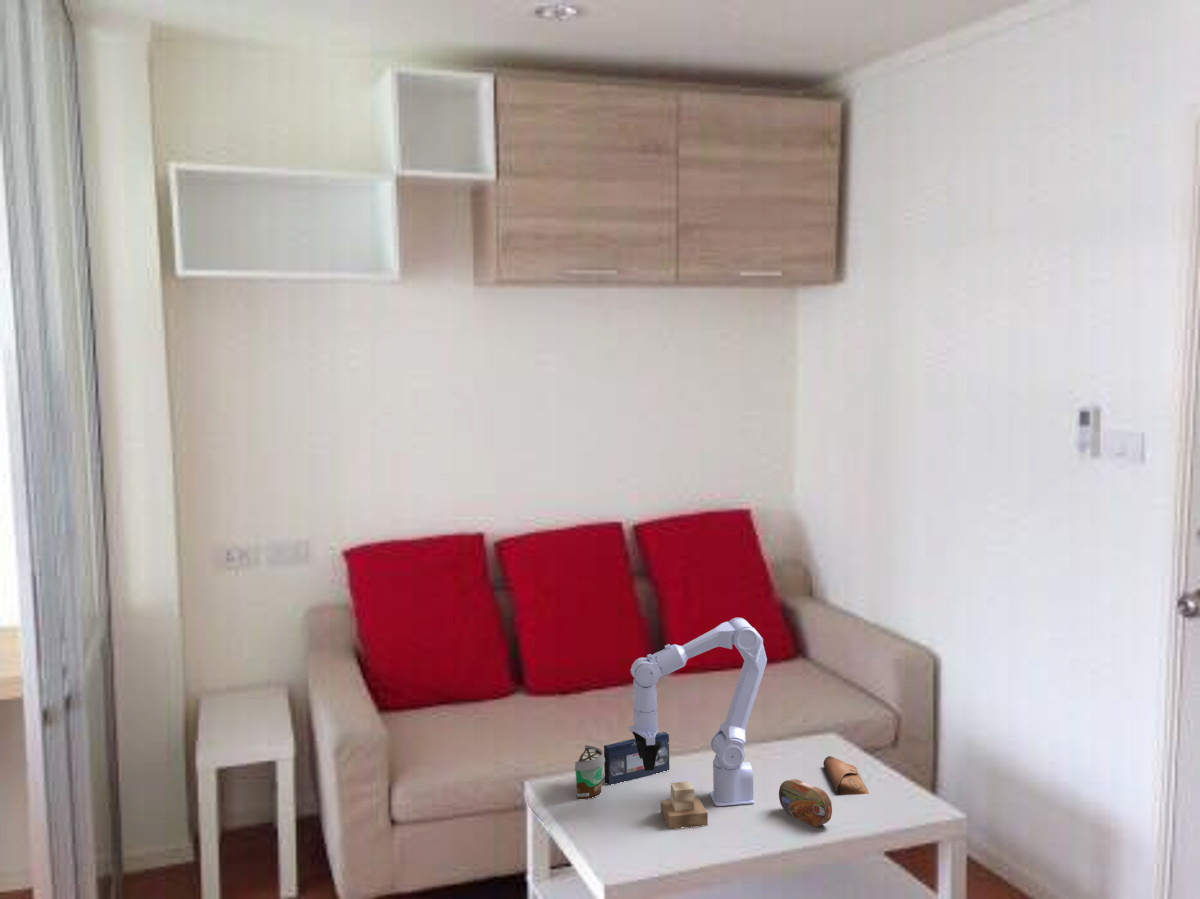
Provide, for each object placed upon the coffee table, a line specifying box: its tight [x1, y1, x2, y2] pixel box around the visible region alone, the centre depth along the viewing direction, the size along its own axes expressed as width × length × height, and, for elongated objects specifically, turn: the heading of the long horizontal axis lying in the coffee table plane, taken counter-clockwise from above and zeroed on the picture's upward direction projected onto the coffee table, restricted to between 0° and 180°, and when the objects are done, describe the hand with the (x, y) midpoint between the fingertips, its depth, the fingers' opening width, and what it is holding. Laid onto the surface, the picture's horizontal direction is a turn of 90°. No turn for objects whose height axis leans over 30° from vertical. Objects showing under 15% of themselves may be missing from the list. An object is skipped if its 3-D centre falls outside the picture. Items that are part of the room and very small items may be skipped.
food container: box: [574, 744, 605, 800], centre depth 276 cm, size 12×6×10 cm, turn 168°
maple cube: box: [670, 781, 695, 812], centre depth 259 cm, size 4×4×5 cm
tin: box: [778, 778, 833, 827], centre depth 258 cm, size 15×3×8 cm, turn 35°
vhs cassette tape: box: [603, 731, 670, 786], centre depth 285 cm, size 18×3×10 cm, turn 118°
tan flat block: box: [660, 796, 709, 830], centre depth 260 cm, size 9×9×4 cm
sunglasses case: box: [823, 755, 870, 796], centre depth 280 cm, size 18×7×7 cm
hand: (646, 763), depth 267 cm, fingers open, 7 cm apart
